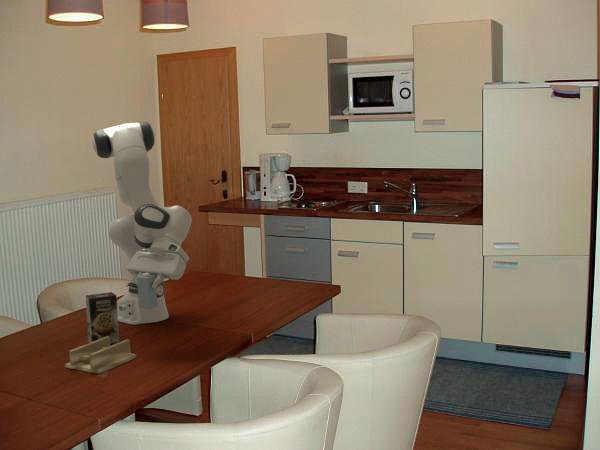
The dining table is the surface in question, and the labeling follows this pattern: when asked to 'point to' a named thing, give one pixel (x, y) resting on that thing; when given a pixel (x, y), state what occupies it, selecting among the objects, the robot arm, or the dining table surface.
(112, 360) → the beige ladder rack
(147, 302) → the block
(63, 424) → the dining table surface
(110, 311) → the coffee box
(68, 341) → the dining table surface
